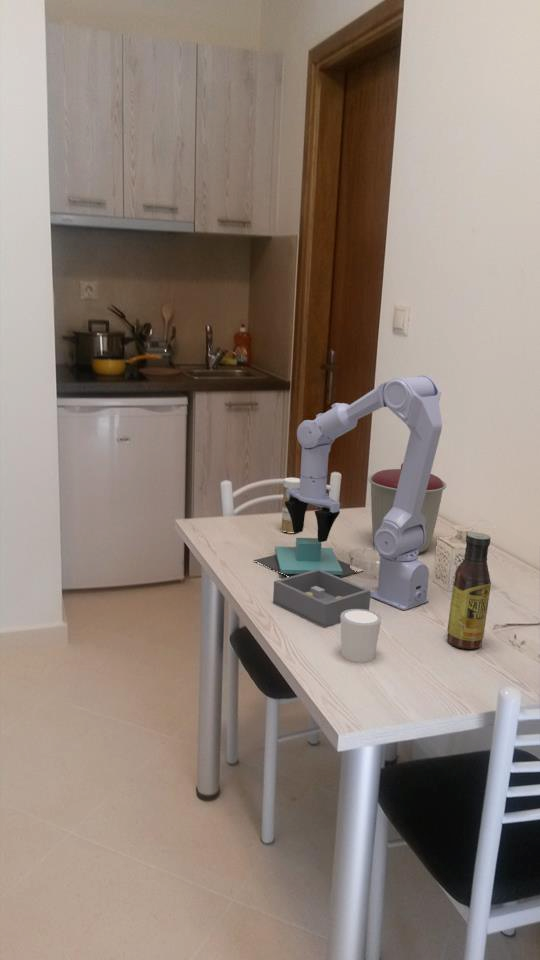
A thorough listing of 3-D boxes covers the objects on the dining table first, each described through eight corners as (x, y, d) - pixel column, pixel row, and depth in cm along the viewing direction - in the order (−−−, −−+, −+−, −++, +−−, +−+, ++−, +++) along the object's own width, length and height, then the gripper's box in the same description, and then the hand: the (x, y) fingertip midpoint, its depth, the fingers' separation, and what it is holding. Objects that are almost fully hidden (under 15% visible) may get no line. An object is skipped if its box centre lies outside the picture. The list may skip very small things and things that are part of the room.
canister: (392, 531, 205) (399, 450, 200) (454, 549, 192) (463, 464, 187) (347, 545, 192) (354, 459, 187) (410, 566, 180) (419, 474, 175)
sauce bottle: (466, 654, 137) (479, 543, 133) (438, 640, 142) (450, 533, 138) (490, 645, 141) (504, 537, 137) (463, 632, 146) (475, 528, 141)
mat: (363, 571, 175) (363, 569, 175) (310, 586, 164) (310, 585, 164) (305, 548, 188) (306, 547, 188) (253, 561, 177) (253, 560, 177)
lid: (342, 578, 169) (343, 552, 168) (280, 576, 168) (281, 551, 167) (331, 554, 184) (333, 531, 182) (274, 553, 183) (275, 529, 181)
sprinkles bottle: (282, 534, 198) (285, 481, 195) (279, 528, 202) (282, 476, 199) (300, 534, 199) (303, 481, 195) (297, 528, 203) (300, 477, 200)
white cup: (329, 653, 135) (331, 614, 134) (355, 642, 140) (358, 604, 138) (360, 668, 131) (364, 628, 129) (386, 656, 135) (390, 617, 134)
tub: (368, 612, 153) (370, 590, 152) (324, 627, 145) (325, 604, 144) (317, 589, 163) (318, 568, 162) (272, 603, 155) (274, 581, 154)
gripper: (351, 480, 169) (347, 542, 172) (303, 466, 179) (300, 525, 182) (327, 484, 164) (323, 547, 167) (280, 470, 175) (277, 530, 178)
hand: (310, 536), depth 174 cm, fingers open, 7 cm apart
